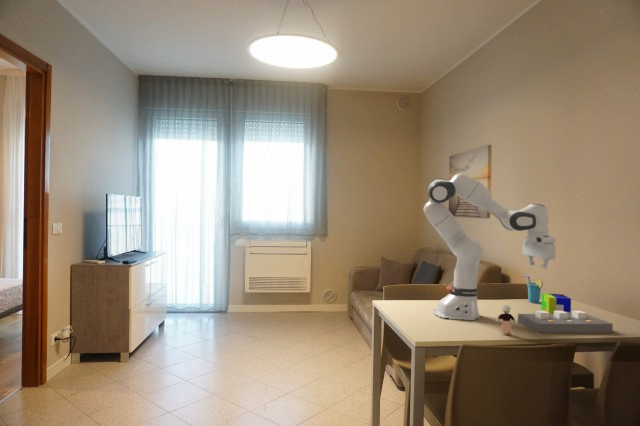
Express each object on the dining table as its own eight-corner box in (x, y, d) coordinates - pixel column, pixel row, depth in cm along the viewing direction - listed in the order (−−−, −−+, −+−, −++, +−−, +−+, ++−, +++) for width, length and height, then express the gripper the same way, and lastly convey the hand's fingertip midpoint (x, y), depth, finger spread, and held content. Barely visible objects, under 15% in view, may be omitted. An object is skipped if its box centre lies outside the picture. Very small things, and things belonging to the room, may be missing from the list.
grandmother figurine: (511, 333, 171) (512, 304, 171) (516, 336, 167) (517, 306, 167) (494, 333, 171) (495, 304, 170) (498, 335, 167) (499, 306, 166)
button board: (538, 332, 172) (538, 323, 172) (517, 322, 188) (518, 313, 188) (612, 332, 174) (612, 323, 174) (585, 322, 190) (586, 313, 190)
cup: (517, 299, 234) (518, 274, 234) (526, 298, 237) (527, 274, 237) (539, 305, 221) (539, 278, 221) (548, 304, 224) (548, 278, 224)
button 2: (578, 319, 181) (578, 312, 181) (572, 316, 185) (572, 310, 185) (586, 319, 181) (586, 313, 181) (580, 316, 185) (580, 310, 185)
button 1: (540, 319, 180) (540, 312, 180) (535, 316, 184) (535, 310, 184) (548, 319, 180) (549, 312, 180) (543, 316, 184) (543, 310, 184)
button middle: (559, 319, 180) (559, 312, 180) (553, 316, 184) (553, 310, 184) (567, 319, 181) (567, 312, 181) (561, 316, 185) (561, 310, 185)
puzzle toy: (570, 318, 195) (571, 298, 195) (548, 317, 197) (549, 297, 197) (562, 313, 205) (562, 294, 205) (541, 312, 207) (542, 293, 207)
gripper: (518, 236, 197) (518, 263, 197) (545, 239, 177) (545, 270, 177) (530, 236, 198) (530, 263, 198) (558, 239, 177) (558, 269, 177)
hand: (537, 266), depth 187 cm, fingers open, 8 cm apart
